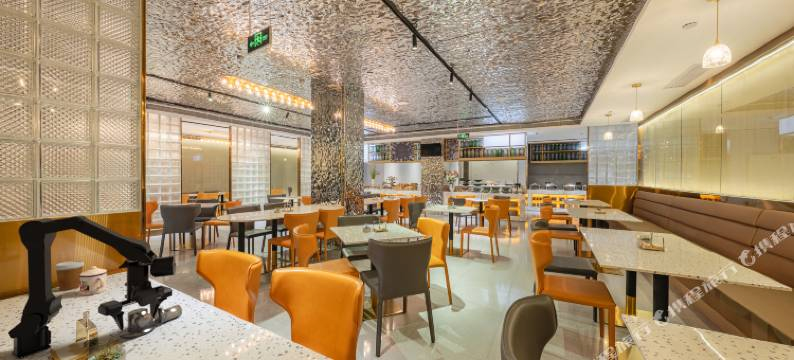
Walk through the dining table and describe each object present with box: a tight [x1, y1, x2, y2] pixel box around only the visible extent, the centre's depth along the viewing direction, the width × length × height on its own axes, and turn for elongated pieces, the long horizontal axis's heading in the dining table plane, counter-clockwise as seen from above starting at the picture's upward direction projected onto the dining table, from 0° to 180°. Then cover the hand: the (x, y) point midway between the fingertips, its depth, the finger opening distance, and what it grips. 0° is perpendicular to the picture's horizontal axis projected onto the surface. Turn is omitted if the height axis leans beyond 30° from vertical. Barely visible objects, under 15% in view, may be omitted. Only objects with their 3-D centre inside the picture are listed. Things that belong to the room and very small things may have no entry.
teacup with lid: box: [79, 265, 108, 296], centre depth 136 cm, size 12×9×12 cm
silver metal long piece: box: [119, 304, 183, 340], centre depth 106 cm, size 17×9×6 cm, turn 155°
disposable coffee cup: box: [54, 260, 85, 292], centre depth 141 cm, size 10×10×12 cm
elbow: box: [127, 307, 154, 333], centre depth 101 cm, size 9×5×6 cm, turn 65°
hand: (137, 324), depth 102 cm, fingers open, 8 cm apart
